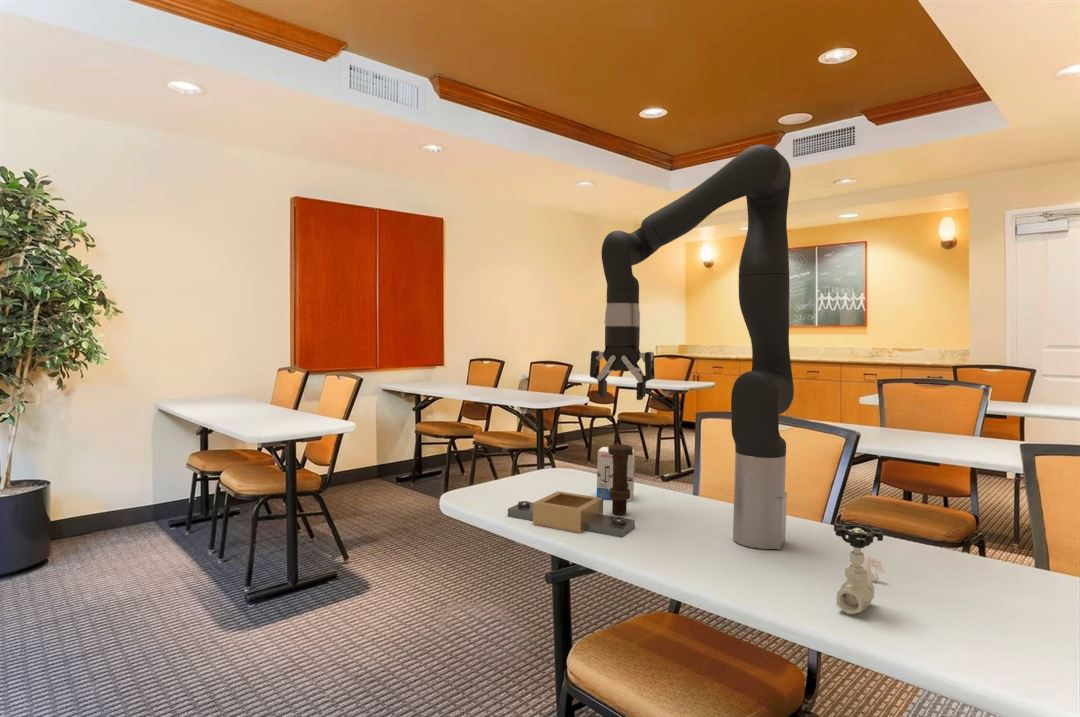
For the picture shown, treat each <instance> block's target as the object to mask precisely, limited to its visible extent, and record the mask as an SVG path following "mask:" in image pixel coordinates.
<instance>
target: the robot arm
mask: <svg viewBox="0 0 1080 717" xmlns="http://www.w3.org/2000/svg"><path fill="white" fill-rule="evenodd" d="M790 166H791V165H790V163H789V162H788V160H787V158H785V157H784V156H783V154H782V153H780V152H779V151H778V150H777V149H776V148H774V147H773V146H772V145H768V144H761V143H759V144H754V145H751V146H749V147H748V148H746V149H744V150H743V151H741V152H740V153H739V154H737V155H736V156H735V157H734V158H732V159H730V161H729V162H728V163H726V164H725V165H724V166H723V167H721V168H720V169H719V170H718V171H716V172H715V173H714V174H712V175H711V176H709V177H708V178H707V179H705V180H704V181H703V182H701V183H700V184H699V185H697V186H695V187H694V188H693V189H692V190H690V191H688V192H686V193H685V194H684V195H682V196H680V197H679V198H677V199H675V200H674V201H672V202H670V203H668V204H667V205H665V206H664V207H662V208H660V209H658V210H655V212H653V213H651V214H649V215H648V216H646V217H645V218H644V219H643V220H642V221H641V223H640V224H641V225H640V227H638V228H637V229H636V230H634V231H633V232H630V233H629V232H626V231H623V230H614V231H611V232H610V233H608V234H607V235H606V236H605V237H604V240H603V242H602V244H601V245H602V246H601V253H600V254H601V262H602V263H601V264H602V268H603V272H604V273H603V274H604V278H605V281H606V305H605V306H606V307H605V313H604V347H605V348H604V350H603V351H600V350H592V351H591V353H590V365H589V366H590V367H589V377H590V378H593V379H595V380H597V393H598V396H599V397H600V399H602V398H603V399H605V398H607V396H608V380H607V378H608V377H609V375H610V374H612V373H613V372H620V371H621V372H630V373H631V375H633V377H634V379H635V380H636V381H637V382H636V401H642V400H644V398H645V397H646V394H647V392H646V388H647V382H648V381H652V380H654V379H655V354H654V352H653V351H646V352H641V351H640V336H641V335H640V334H641V330H640V329H641V328H640V326H641V314H640V313H641V312H640V284H639V280H638V279H637V277H635V276H634V273H633V267H632V266H635V265H638V264H640V263H642V262H644V261H646V259H649V257H651V256H652V255H653V254H655V252H657V251H658V250H659V249H660V248H661V247H663V246H666V245H668V244H670V243H671V242H673V241H676V240H677V239H679V238H681V237H682V236H684V235H686V234H688V233H689V232H690V231H692V230H693V229H695V228H696V227H697V226H699V224H701V223H702V222H703V221H704V220H705V219H706V218H708V217H709V215H711V214H712V213H714V212H715V211H716V210H718V209H720V208H721V207H723V206H725V205H726V204H729V203H731V202H733V201H736V200H738V199H740V198H744V197H745V198H746V205H747V206H746V207H747V210H746V211H747V231H746V237H745V241H744V244H743V248H742V252H741V255H740V260H739V265H738V301H739V303H738V304H739V307H740V308H739V309H740V311H741V315H742V318H743V321H744V324H745V326H746V329H747V331H748V335H749V338H750V342H751V359H752V360H751V370H750V371H745V372H743V373H741V375H739V376H738V377H737V379H735V381H734V383H733V385H732V389H731V399H730V411H731V412H730V417H731V418H730V419H731V420H730V421H731V424H730V426H731V428H730V429H731V435H732V438H733V441H734V448H735V450H734V454H735V455H734V484H733V485H734V487H733V488H734V489H733V517H732V518H733V520H732V523H733V524H732V525H733V526H732V539H733V541H734V542H736V543H737V544H740V545H742V546H744V547H749V548H753V549H761V550H781V549H782V548H783V545H785V542H786V535H787V534H786V533H787V532H786V531H787V529H786V528H787V498H788V497H787V496H788V495H787V494H788V493H787V492H786V468H787V467H786V464H787V443H786V442H787V441H786V440H785V439H784V438H783V437H782V436H781V435H780V428H779V427H780V425H779V424H780V423H779V422H780V421H779V419H780V418H779V416H780V415H782V414H783V413H785V412H786V411H787V410H788V409H789V408H790V407H791V404H792V402H793V400H794V390H795V388H794V378H793V370H792V369H793V368H792V362H791V353H790V292H791V291H790V261H789V260H790V259H789V255H790V254H789V237H788V230H787V229H788V225H787V224H788V221H787V218H788V206H789V199H790V198H789V197H790V189H791V188H790V186H791V179H792V175H791V174H792V172H791V167H790ZM603 358H604V360H605V361H606V363H605V364H604V365H603V367H602V369H601V371H600V365H601V361H602V359H603ZM640 360H642V362H643V363H644V371H645V373H643V370H642V368H641V366H640V365H639V364H638V362H639V361H640Z"/></svg>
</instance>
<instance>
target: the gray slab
mask: <svg viewBox="0 0 1080 717" xmlns="http://www.w3.org/2000/svg"><path fill="white" fill-rule="evenodd" d="M533 503H534V502H531V501H528V500H526V501H525V500H521V501H520V500H519V501H518V503H517V504H515V505H513V506H511V507H509V508H507V517H509V518H510V517H512V518H516V519H520V520H521V519H522V520H527V521H532V522H533Z"/></svg>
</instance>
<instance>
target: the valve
mask: <svg viewBox="0 0 1080 717" xmlns="http://www.w3.org/2000/svg"><path fill="white" fill-rule="evenodd" d="M833 531H834V532H835V536H836V537H841V539H842V540H843V542H845V543H847V544H849V545H850V546H851V547H853V550H852V551H850V553H849V562H850V563H851V564H850V565H849V566H847V567H845V570H844V571H845V572H844V576H845V577H846V578H847V581H845V582H843V584H842V585H841V587H840V589H839V590H838V591H837V592H836V606H837V607H838V608H840V609H841V610H842V611H843V612H844V613H846V614H847V613H848V614H851V615H855V614H858V613H859V614H860V613H862V612H863V611H864V610H865V609H867V608H869V606H870V605H871V603H872V601H873V599H874V598H875V597H874V596H875V585H874V584H873V582H870V581H868V580H867V579H868V572H867V571H866V570H864V567H863V566H862V564H863V563H864V556H865V553H863V552H862V549H865V548H866V547H870V545H872V543H874V538H877V539H876V541H878V542H882V541H883V540H884V532H882V530H881V528H879V527H868V524H867V523H859V524H853V523H852V522H850V521H844V522H843V525H842V524H841V523H833ZM848 614H847V615H848Z"/></svg>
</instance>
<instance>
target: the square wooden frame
mask: <svg viewBox="0 0 1080 717" xmlns="http://www.w3.org/2000/svg"><path fill="white" fill-rule="evenodd" d="M532 503H533V521H532V525H536V526H541V527H548V528H551V529H555V530H556V529H557V530H562V531H567V532H572V533H577V534H581V533H583V532H584V531H585V522H587V521H588V520H590V519H592V518H593V517H595V516H597V515H598V514H603V515H604V499H603V498H598V497H597V496H591V495H585V494H579V493H578V494H577V493H571V492H565V491H559V490H557V491H555V492H553V493H552V494H549V495H547V496H544V497H542V498H540V499H538V500H536V501H534V502H532ZM585 532H586V531H585Z"/></svg>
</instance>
